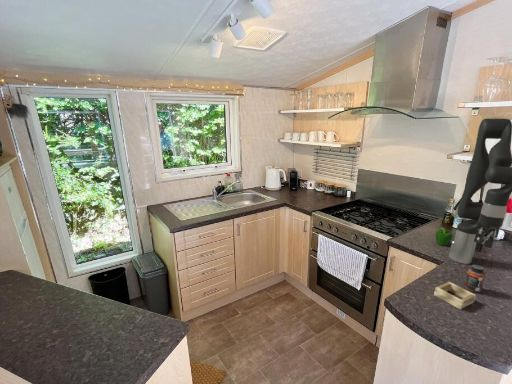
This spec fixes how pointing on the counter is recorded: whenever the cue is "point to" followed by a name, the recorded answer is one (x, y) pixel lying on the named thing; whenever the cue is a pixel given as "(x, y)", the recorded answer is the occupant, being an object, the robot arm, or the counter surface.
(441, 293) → the wooden socket
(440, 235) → the bell pepper
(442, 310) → the counter surface
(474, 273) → the supplement bottle
